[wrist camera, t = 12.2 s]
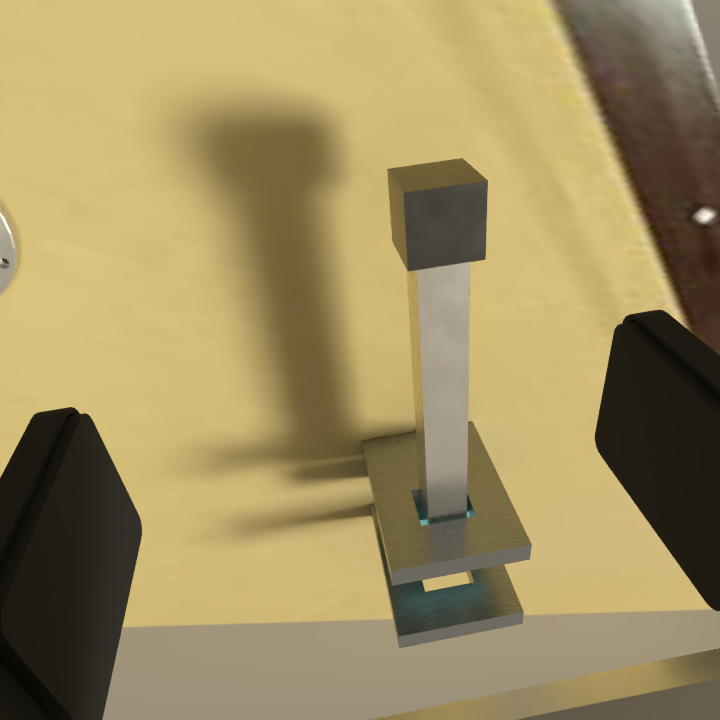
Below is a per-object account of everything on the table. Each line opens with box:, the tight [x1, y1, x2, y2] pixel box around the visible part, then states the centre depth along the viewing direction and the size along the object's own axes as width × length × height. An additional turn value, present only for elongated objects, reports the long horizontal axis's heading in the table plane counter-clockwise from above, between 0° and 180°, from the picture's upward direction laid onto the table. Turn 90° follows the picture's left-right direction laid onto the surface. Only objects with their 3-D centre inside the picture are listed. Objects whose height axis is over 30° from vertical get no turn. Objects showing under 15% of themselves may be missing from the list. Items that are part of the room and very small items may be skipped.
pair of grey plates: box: [362, 422, 532, 648], centre depth 57 cm, size 12×12×16 cm
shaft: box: [387, 158, 488, 525], centre depth 43 cm, size 31×5×5 cm, turn 6°
